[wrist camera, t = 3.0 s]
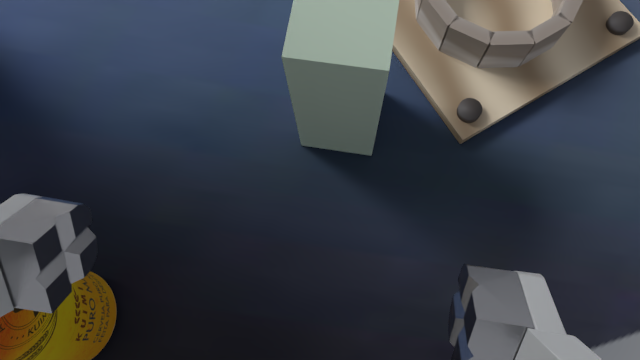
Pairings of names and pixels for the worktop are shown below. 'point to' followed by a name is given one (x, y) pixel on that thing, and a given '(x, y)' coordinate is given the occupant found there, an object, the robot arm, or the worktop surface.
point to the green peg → (339, 70)
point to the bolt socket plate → (509, 81)
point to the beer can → (62, 326)
